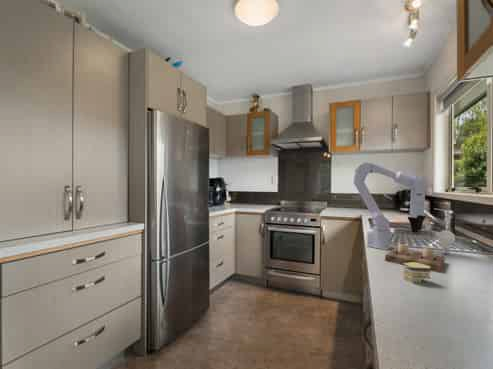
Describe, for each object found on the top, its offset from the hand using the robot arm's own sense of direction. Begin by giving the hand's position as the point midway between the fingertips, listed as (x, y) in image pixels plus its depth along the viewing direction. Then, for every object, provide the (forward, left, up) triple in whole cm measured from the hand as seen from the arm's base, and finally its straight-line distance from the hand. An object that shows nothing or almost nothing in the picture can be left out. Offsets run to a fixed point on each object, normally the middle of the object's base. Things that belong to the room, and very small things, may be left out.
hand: (416, 231), depth 121 cm
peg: (+8, -21, -9) cm, 24 cm away
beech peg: (-1, -21, -9) cm, 23 cm away
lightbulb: (+11, +4, -10) cm, 15 cm away
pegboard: (+3, -21, -9) cm, 23 cm away
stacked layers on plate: (+7, -45, -10) cm, 46 cm away
